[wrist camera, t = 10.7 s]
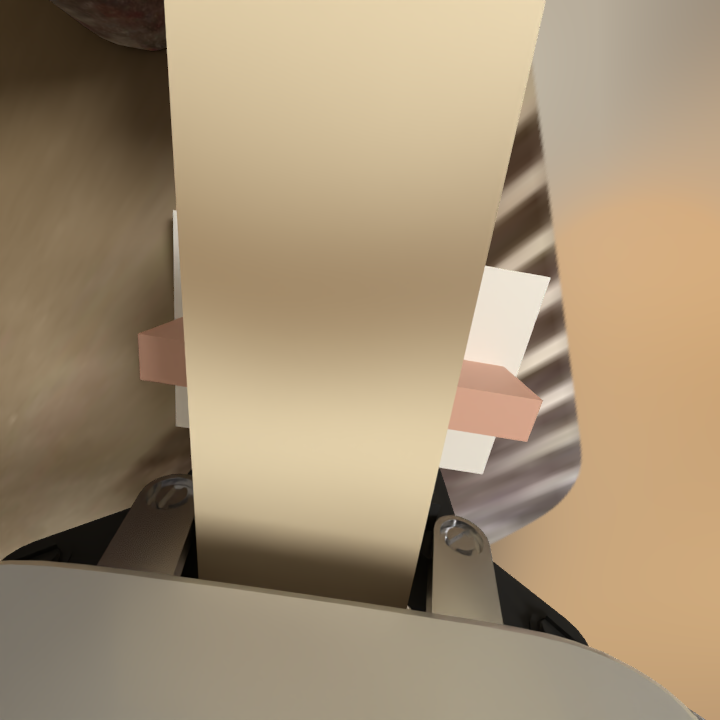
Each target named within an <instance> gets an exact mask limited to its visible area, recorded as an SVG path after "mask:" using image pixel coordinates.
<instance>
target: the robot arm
mask: <svg viewBox="0 0 720 720" xmlns="http://www.w3.org/2000/svg"><path fill="white" fill-rule="evenodd" d="M407 605H408V606H409V609H402V608H396V607H389V606H382V605H376V604H369V603H362V602H356V601H349V600H342V599H335V598H328V597H321V596H314V595H307V594H301V593H294V592H287V591H280V590H273V589H266V588H259V587H252V586H245V585H238V584H230V583H223V582H216V581H209V580H201V579H199V577H198V560H197V543H196V527H195V510H194V493H193V476H192V469H191V470H190V472H189V473H188V474H171V475H167V476H163V477H160V478H158V479H156V480H154V481H152V482H151V483H149V484H148V485H146V486H145V487H144V488H143V490H142V491H141V492H140V493H139V495H138V497H137V498H136V500H135V502H134V503H133V505H132V507H131V508H129V509H126V510H123V511H120V512H117V513H114V514H112V515H109V516H106V517H103V518H100V519H97V520H94V521H92V522H89V523H86V524H83V525H80V526H77V527H75V528H72V529H69V530H66V531H63V532H60V533H57V534H55V535H52V536H49V537H46V538H43V539H40V540H38V541H35V542H32V543H30V544H28V545H26V546H23V547H21V548H19V549H18V550H16V551H14V552H13V553H11V554H9V555H8V556H6V557H5V558H4V559H3V560H2V561H0V720H705V719H704V718H702V717H701V716H699V715H698V714H696V713H695V712H693V711H692V710H690V709H689V708H687V707H686V706H685V705H684V704H683V703H682V702H681V701H680V700H679V699H677V698H676V697H675V696H674V695H673V694H671V693H670V692H669V691H668V690H667V689H666V688H664V687H663V686H661V685H660V684H658V683H657V682H656V681H654V680H652V679H651V678H650V677H648V676H647V675H645V674H643V673H642V672H640V671H638V670H637V669H635V668H633V667H632V666H629V665H627V664H625V663H624V662H622V661H620V660H618V659H616V658H614V657H612V656H610V655H608V654H606V653H604V652H602V651H599V650H596V649H594V648H591V647H589V646H588V644H587V642H586V641H585V639H584V638H583V637H582V635H581V634H580V633H579V631H578V630H577V629H576V628H575V627H574V626H573V625H572V624H571V623H570V622H569V621H568V620H567V619H565V618H564V617H563V616H562V615H560V614H559V613H558V612H557V611H555V610H554V609H553V608H551V607H550V606H549V605H548V604H546V603H545V602H544V601H542V600H541V599H540V598H539V597H537V596H536V595H535V594H534V593H532V592H531V591H530V590H529V589H527V588H526V587H525V586H523V585H522V584H521V583H520V582H518V581H517V580H516V579H515V578H513V577H512V576H511V575H509V574H508V573H507V572H506V571H504V570H503V569H502V568H500V567H499V566H498V565H497V564H495V563H494V562H493V561H492V555H491V549H490V544H489V541H488V539H487V537H486V536H485V534H484V533H483V531H482V530H481V529H480V528H479V527H477V526H476V525H475V524H474V523H472V522H470V521H469V520H467V519H464V518H462V517H459V516H455V514H454V511H453V508H452V505H451V502H450V499H449V496H448V493H447V489H446V486H445V483H444V480H443V477H442V474H441V471H440V468H439V469H438V473H437V478H436V482H435V486H434V491H433V495H432V500H431V504H430V508H429V513H428V517H427V521H426V526H425V530H424V535H423V539H422V543H421V548H420V552H419V556H418V561H417V565H416V569H415V574H414V578H413V583H412V587H411V591H410V596H409V600H408V604H407Z"/></svg>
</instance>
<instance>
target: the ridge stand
mask: <svg viewBox="0 0 720 720" xmlns="http://www.w3.org/2000/svg"><path fill="white" fill-rule="evenodd" d="M173 246H174V320H173V321H170V322H167V323H165V324H162V325H160V326H157V327H154V328H152V329H149V330H146V331H144V332H141V333H138V345H139V365H140V380H146V381H152V382H158V383H165V384H171V385H175V401H176V426H178V427H185V428H190V426H189V409H188V393H187V376H186V359H185V342H184V326H183V309H182V292H181V275H180V259H179V242H178V225H177V211H175V210H173ZM549 281H550V277H545V276H539V275H533V274H528V273H522V272H517V271H511V270H505V269H500V268H494V267H489V266H485V268H484V273H483V277H482V281H481V286H480V290H479V294H478V299H477V303H476V307H475V312H474V316H473V321H472V325H471V329H470V334H469V338H468V342H467V347H466V351H465V355H464V360H463V364H462V369H461V373H460V377H459V382H458V386H457V390H456V395H455V399H454V404H453V408H452V412H451V417H450V421H449V425H448V430H447V434H446V438H445V443H444V447H443V452H442V456H441V460H440V465H439V467H440V468H446V469H453V470H459V471H466V472H472V473H478V474H483V472H484V469H485V466H486V463H487V460H488V457H489V454H490V451H491V448H492V445H493V443H494V440H495V437H500V438H506V439H513V440H519V441H525V442H527V440H528V438H529V435H530V433H531V430H532V427H533V425H534V422H535V420H536V417H537V414H538V412H539V409H540V407H541V404H542V401H543V400H541V399H540V398H539V397H538V396H537V395H536V394H535V393H533V392H532V391H531V390H530V389H529V388H528V387H527V386H525V385H524V384H523V383H522V382H521V381H520V380H519V379H517V378H516V376H517V373H518V370H519V367H520V365H521V362H522V359H523V356H524V353H525V350H526V347H527V344H528V341H529V339H530V336H531V333H532V330H533V327H534V324H535V321H536V318H537V315H538V313H539V310H540V307H541V304H542V301H543V298H544V295H545V292H546V289H547V287H548V284H549Z"/></svg>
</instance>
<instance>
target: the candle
mask: <svg viewBox="0 0 720 720" xmlns="http://www.w3.org/2000/svg"><path fill="white" fill-rule="evenodd" d="M49 1H51V2H52V3H53V4H55V5H56V6H58V7H59V8H60V9H62V10H63V11H65V12H66V13H67V14H68V15H70V16H71V17H72V18H74V19H75V20H76V21H78V22H79V23H80V24H82V25H83V26H85V27H86V28H88V29H89V30H91V31H92V32H94V33H95V34H97V35H98V36H100V37H101V38H103V39H106V40H108V41H110V42H113V43H115V44H118V45H124V46H127V47H135V48H139V49H146V50H149V51H156V50H161V49H164V48H166V47H167V41H166V24H165V8H164V0H49Z"/></svg>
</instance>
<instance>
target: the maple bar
mask: <svg viewBox="0 0 720 720" xmlns="http://www.w3.org/2000/svg"><path fill="white" fill-rule="evenodd" d="M545 1H546V0H164V8H165V24H166V41H167V58H168V74H169V91H170V108H171V125H172V141H173V158H174V175H175V192H176V208H177V225H178V242H179V259H180V275H181V292H182V309H183V326H184V342H185V359H186V376H187V393H188V409H189V426H190V443H191V460H192V476H193V493H194V510H195V527H196V543H197V560H198V577H199V579H201V580H209V581H216V582H223V583H230V584H238V585H245V586H252V587H259V588H266V589H273V590H280V591H287V592H294V593H301V594H307V595H314V596H321V597H328V598H335V599H342V600H349V601H356V602H362V603H369V604H376V605H382V606H389V607H396V608H402V609H407V604H408V600H409V596H410V591H411V587H412V583H413V578H414V574H415V569H416V565H417V561H418V556H419V552H420V548H421V543H422V539H423V535H424V530H425V526H426V521H427V517H428V513H429V508H430V504H431V500H432V495H433V491H434V486H435V482H436V478H437V473H438V469H439V465H440V460H441V456H442V452H443V447H444V443H445V438H446V434H447V430H448V425H449V421H450V417H451V412H452V408H453V404H454V399H455V395H456V390H457V386H458V382H459V377H460V373H461V369H462V364H463V360H464V355H465V351H466V347H467V342H468V338H469V334H470V329H471V325H472V321H473V316H474V312H475V307H476V303H477V299H478V294H479V290H480V286H481V281H482V277H483V273H484V268H485V264H486V259H487V255H488V251H489V246H490V242H491V238H492V233H493V229H494V224H495V220H496V216H497V211H498V207H499V203H500V198H501V194H502V190H503V185H504V181H505V176H506V172H507V168H508V163H509V159H510V155H511V150H512V146H513V142H514V137H515V133H516V128H517V124H518V120H519V115H520V111H521V107H522V102H523V98H524V93H525V89H526V85H527V80H528V76H529V72H530V67H531V63H532V59H533V54H534V50H535V45H536V41H537V36H538V32H539V28H540V23H541V19H542V15H543V10H544V6H545Z"/></svg>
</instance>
